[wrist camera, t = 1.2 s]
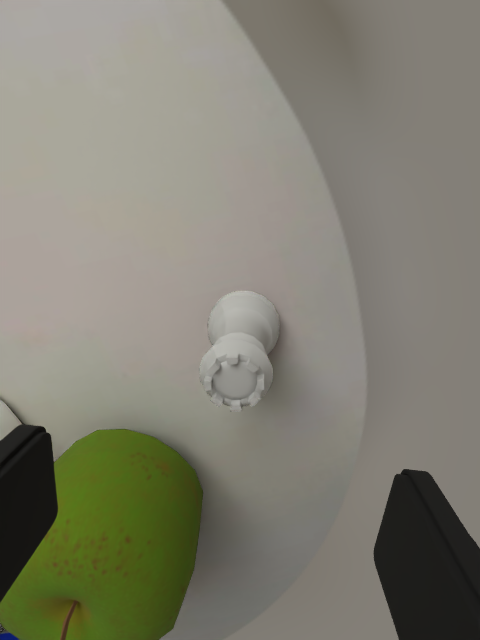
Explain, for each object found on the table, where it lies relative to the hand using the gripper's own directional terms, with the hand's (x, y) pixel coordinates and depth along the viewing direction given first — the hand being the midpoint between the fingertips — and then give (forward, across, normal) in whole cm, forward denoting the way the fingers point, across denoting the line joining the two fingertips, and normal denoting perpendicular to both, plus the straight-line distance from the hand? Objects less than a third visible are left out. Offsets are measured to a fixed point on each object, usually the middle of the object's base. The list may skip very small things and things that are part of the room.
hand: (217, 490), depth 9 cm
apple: (+14, +7, +12) cm, 20 cm away
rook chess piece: (+13, 0, 0) cm, 13 cm away
